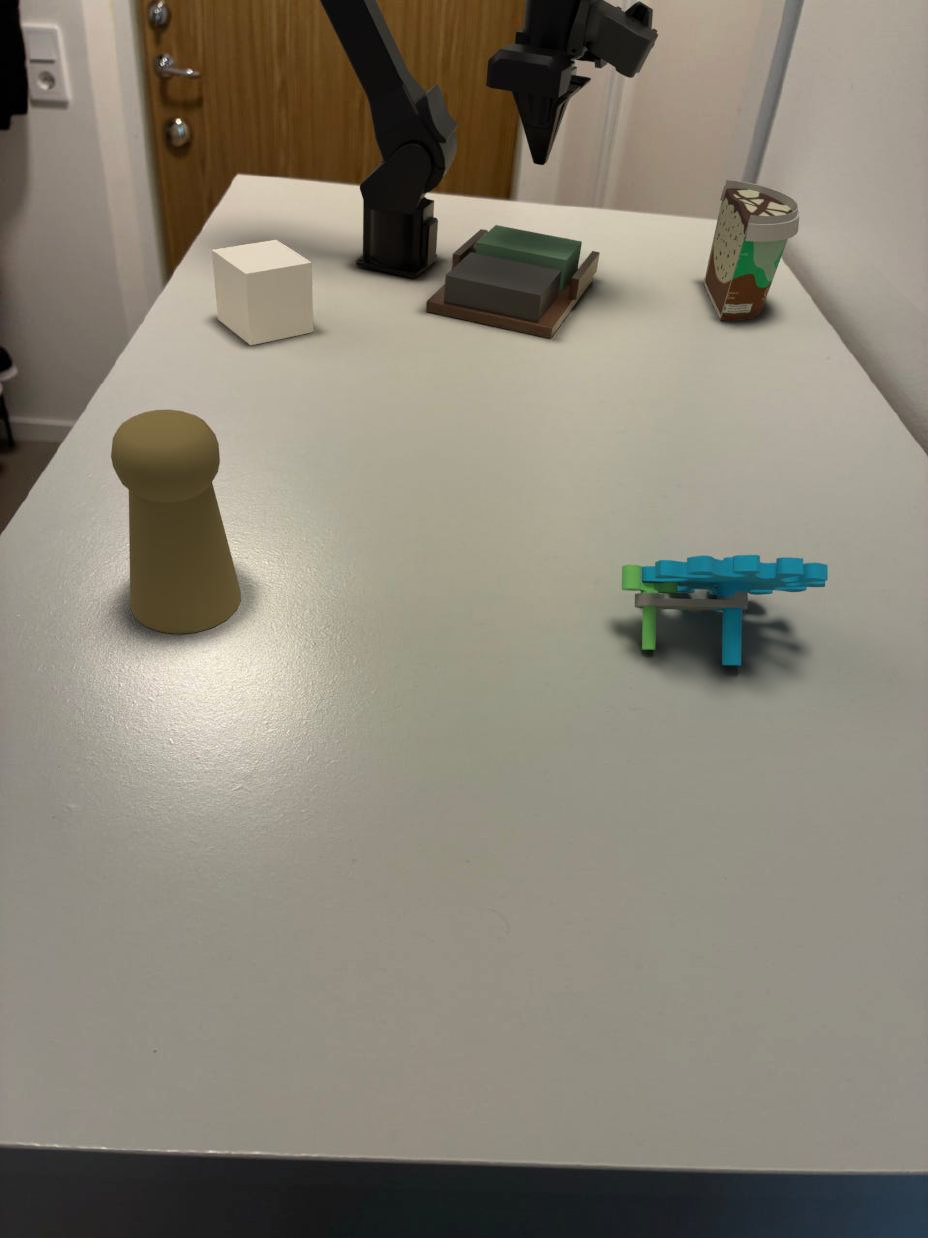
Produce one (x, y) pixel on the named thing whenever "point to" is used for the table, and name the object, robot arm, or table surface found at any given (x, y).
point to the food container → (748, 247)
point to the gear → (716, 589)
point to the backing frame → (508, 291)
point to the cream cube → (263, 291)
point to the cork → (175, 523)
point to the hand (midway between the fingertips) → (540, 163)
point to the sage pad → (532, 250)
